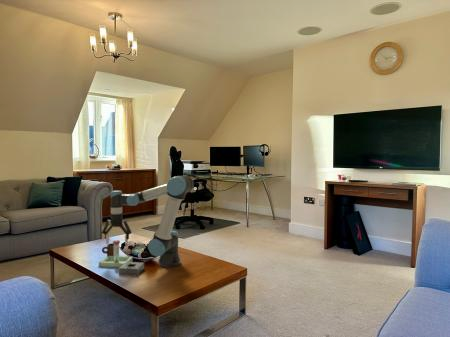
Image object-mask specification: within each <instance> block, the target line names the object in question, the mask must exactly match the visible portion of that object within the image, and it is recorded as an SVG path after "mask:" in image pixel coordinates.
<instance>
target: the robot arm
mask: <svg viewBox="0 0 450 337" xmlns="http://www.w3.org/2000/svg"><path fill="white" fill-rule="evenodd" d="M194 183H195V182H194V180H193V178H192V177H191V176H189V175H185V174H184V175H177V176H176V175H175V176H173V177H171V178H170V179H168V181H167V183H166V184H163V185H159V186H155V187H152V188H149V189H145V190H142V191H139V192H135V193H123V191H122V190H112V191H111V192H110V219H107V220H106V221H105V222H106V223H105V225H104V227H103V229H102V231H101V234H103V235H104V239H105V245H108V244H110V237H109V236H110V235H109V233H110V231H111V230H112V229H113V227H114V228H120V229H121V230H122V232H123V233H124V245H129V239H130V235H131V234H132V230H131V228H130V226H129V225H128V220H127V219H125V220H123V206H129V207H130V206H131V207H133V206H135V207H136V206H137V205H138V204H141V203H145V202H148V201H152V200H156V199H159V198H161V197H165V196H167V200H166V204H165V206H164V210H163V212H162V215H161V218H160V222H159V226H158V229H157V230H156V231H154V233H153V236H152V239H150V240H149V241H148V243H147V249H148V251H149V253H150V254H151V255H152V256H153V257H159V259H158V266H160V267H164V268H174V267H177V266H180V264H181V258H180V254H179V232H178V231H176V230H173V228H174V224H175V221H176V219H177V215H178V212H179V208H180V205H181V203H182V201H185V198H186V195H187V193H189V192H191V191H192V190H193V188H194ZM109 225H110V226H109Z"/></svg>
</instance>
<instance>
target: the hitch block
mask: <svg viewBox="0 0 450 337" xmlns="http://www.w3.org/2000/svg"><path fill="white" fill-rule="evenodd" d="M144 269H145V262H138V261H137V262H136V261H134V262H133V261H132V262H126V263H125V264H123V265H122V266H121V267H120V268H118V275H122V276H138V275H139V274H140V273H141V272H142V271H143V270H144Z"/></svg>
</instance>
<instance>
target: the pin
mask: <svg viewBox="0 0 450 337" xmlns="http://www.w3.org/2000/svg"><path fill="white" fill-rule="evenodd" d="M112 243H113V244H114V262H115V263H119V256H120V243H121V242H120V240H117V239H116V240H113V241H112Z"/></svg>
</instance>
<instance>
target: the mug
mask: <svg viewBox="0 0 450 337" xmlns="http://www.w3.org/2000/svg"><path fill="white" fill-rule="evenodd" d="M105 249H106V250H105ZM101 252H102V253H103V254H106V257H107V256H114V244H113V242H112V243H108V244H106V246H103V247H102V249H101Z"/></svg>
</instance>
